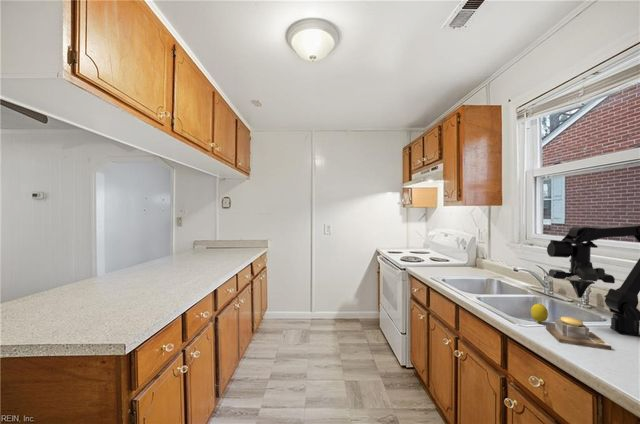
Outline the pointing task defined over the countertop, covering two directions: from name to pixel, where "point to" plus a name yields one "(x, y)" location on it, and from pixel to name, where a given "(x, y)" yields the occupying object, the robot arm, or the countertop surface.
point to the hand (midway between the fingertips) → (579, 297)
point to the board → (576, 335)
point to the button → (571, 321)
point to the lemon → (539, 312)
